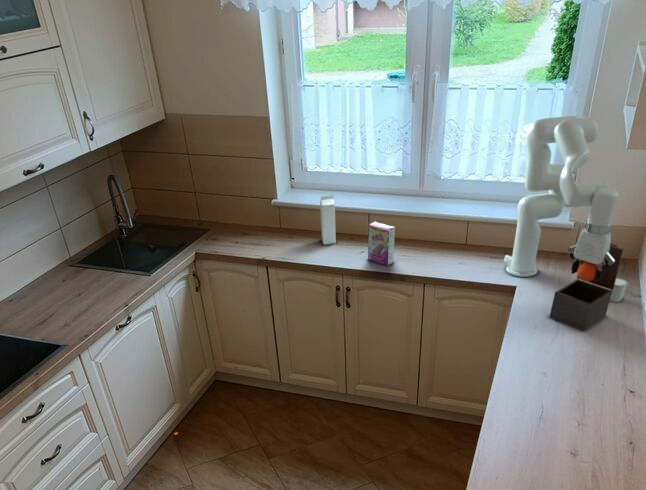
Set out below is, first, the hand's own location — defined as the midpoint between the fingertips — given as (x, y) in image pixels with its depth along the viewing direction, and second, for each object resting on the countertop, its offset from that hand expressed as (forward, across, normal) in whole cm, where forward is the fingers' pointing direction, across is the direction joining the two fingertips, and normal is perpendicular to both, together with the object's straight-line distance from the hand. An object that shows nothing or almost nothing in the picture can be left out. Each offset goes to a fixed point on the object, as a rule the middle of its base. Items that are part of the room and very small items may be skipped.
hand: (585, 275), depth 208 cm
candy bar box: (+17, -87, -13) cm, 90 cm away
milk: (+17, -121, -14) cm, 123 cm away
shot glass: (+17, +2, +24) cm, 29 cm away
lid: (-2, 0, +8) cm, 8 cm away
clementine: (+2, 0, 0) cm, 2 cm away
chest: (+17, 0, +2) cm, 17 cm away
